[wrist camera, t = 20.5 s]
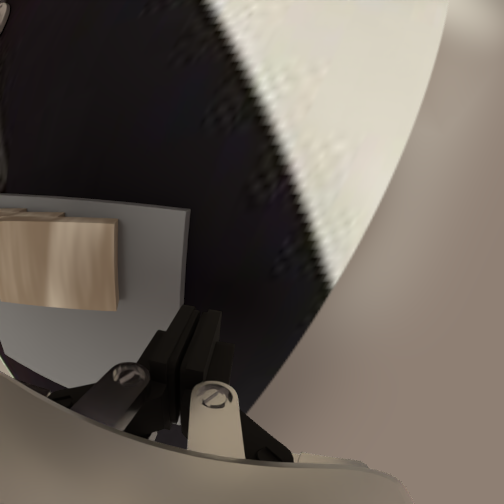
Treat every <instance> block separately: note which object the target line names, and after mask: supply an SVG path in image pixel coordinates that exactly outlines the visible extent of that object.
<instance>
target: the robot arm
mask: <svg viewBox="0 0 504 504" xmlns="http://www.w3.org/2000/svg"><path fill="white" fill-rule="evenodd" d="M9 12H10V5H9V4H7V3H1V4H0V34H1V32H2V30H3V28H4V26H5V24H6V21H7V19H8V16H9ZM221 317H222V311H216V310H210V309H209V310H208V312H203V313H202V316H201V318H200V311H197V310H196V307H194V306H188V305H183V304H182V306H181V307H180V309H179V310H178V312H177V314H176V315H175V317H174V319H173V320H172V322H171V324H170V325H169V327H168V329H167V330H166V331H163V330H158V331H157V332H156V333H155V335H154V336H153V338H152V339H151V341H150V342H149V344H148V346H147V347H146V349H145V350H144V352H143V353H142V355H141V356H140V358H139V360H138V361H137V363H134V362H122V363H119V364H116V365H115V366H113V367H112V368H111V369H110V370H109V371H108V372H107V373H106V374H105V375H104V376H103V377H102V378H101V379H100V380H99V381H98V382H97V383H93V384H88V385H84V386H79V387H74V388H68V389H63V390H58V391H55V392H53V393H51V391H50V390H49V389H45V388H42V387H38V386H35V385H32V384H29V383H26V382H23V381H20V380H17V379H14V378H12V377H10V376H8V375H6V374H5V373H3V372H1V371H0V504H415V503H414V501H413V499H412V498H411V496H410V494H409V492H408V490H407V489H406V487H405V486H404V485H403V483H402V482H401V481H400V480H398V479H397V478H396V477H394V476H392V475H390V474H388V473H385V472H382V471H378V470H374V469H370V468H368V467H367V465H366V464H364V463H362V462H361V461H357V460H351V459H342V458H333V457H327V456H320V455H314V454H309V453H303V452H301V454H300V455H298V454H293V453H291V452H290V450H288V449H287V448H286V447H285V446H284V445H283V444H281V443H280V442H279V441H277V440H276V439H275V438H273V437H272V436H271V435H270V434H268V433H267V432H266V431H265V430H264V429H262V428H261V427H260V426H259V425H258V424H256V423H255V422H254V421H253V420H252V419H250V418H249V417H248V416H247V415H246V414H245V413H243V412H242V411H241V410H240V409H239V403H238V396H237V393H236V391H235V390H234V389H233V388H232V387H231V386H229V381H230V374H231V368H232V361H233V355H234V348H235V344H231V343H225V342H219V334H220V326H221ZM199 319H200V320H199ZM179 416H180V422H181V425H182V433H183V435H184V436H185V437H186V438H187V439H188V448H187V449H182V448H178V447H174V446H170V445H166V444H162V443H158V442H155V441H154V440H155V438H156V436H157V431H159V430H162V429H168V430H170V428H171V425H172V423H175V424H177V422H178V420H179Z"/></svg>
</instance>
